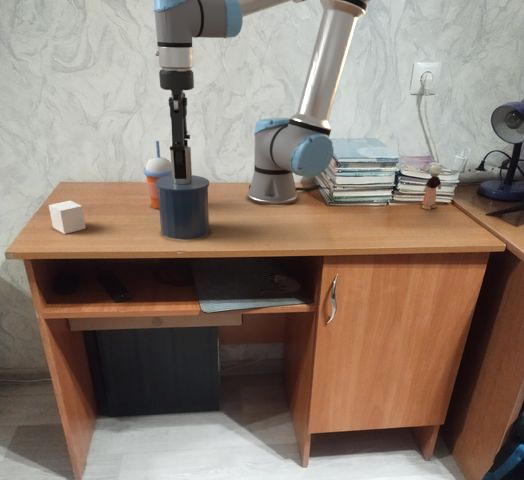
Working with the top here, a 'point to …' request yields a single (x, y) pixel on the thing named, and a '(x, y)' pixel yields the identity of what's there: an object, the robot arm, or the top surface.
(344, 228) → the top surface
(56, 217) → the white cube
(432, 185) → the grandmother figurine
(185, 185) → the tin lid
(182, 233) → the tin
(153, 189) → the cup with straw
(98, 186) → the top surface
